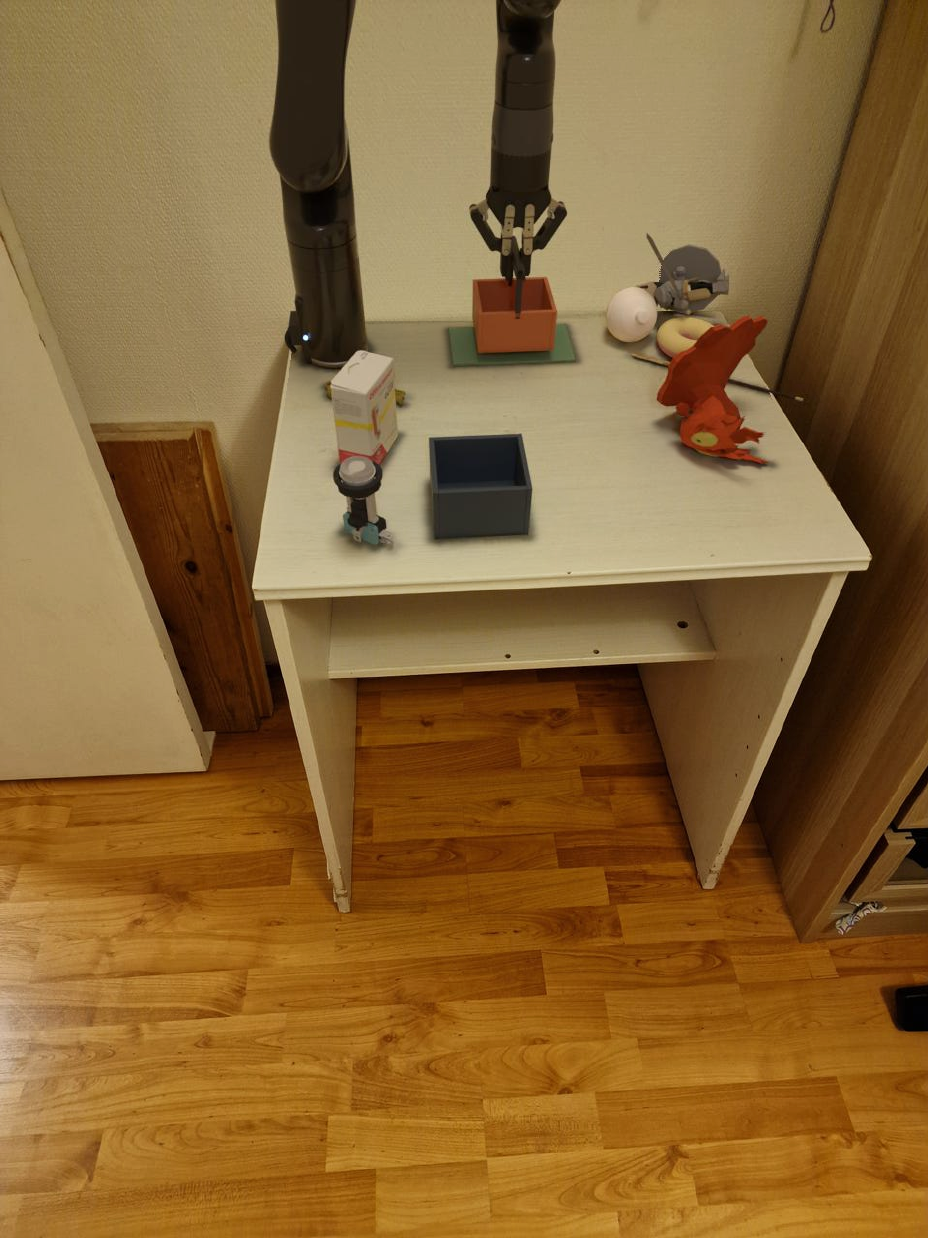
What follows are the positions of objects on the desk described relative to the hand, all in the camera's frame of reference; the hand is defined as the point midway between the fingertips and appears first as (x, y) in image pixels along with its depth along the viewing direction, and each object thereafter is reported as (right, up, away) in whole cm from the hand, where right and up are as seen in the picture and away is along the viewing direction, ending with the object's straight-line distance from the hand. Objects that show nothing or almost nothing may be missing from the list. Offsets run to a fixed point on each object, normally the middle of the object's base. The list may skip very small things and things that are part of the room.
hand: (514, 277), depth 112 cm
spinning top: (+16, 0, +13) cm, 21 cm away
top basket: (0, -5, +6) cm, 9 cm away
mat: (0, -7, +8) cm, 11 cm away
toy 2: (+24, -14, -8) cm, 29 cm away
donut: (+23, -9, +5) cm, 25 cm away
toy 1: (+30, +3, +3) cm, 31 cm away
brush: (+18, -9, +6) cm, 20 cm away
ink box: (-19, -26, -8) cm, 34 cm away
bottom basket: (-5, -35, -16) cm, 38 cm away
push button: (-18, -38, -19) cm, 46 cm away
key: (-21, -17, -1) cm, 27 cm away
